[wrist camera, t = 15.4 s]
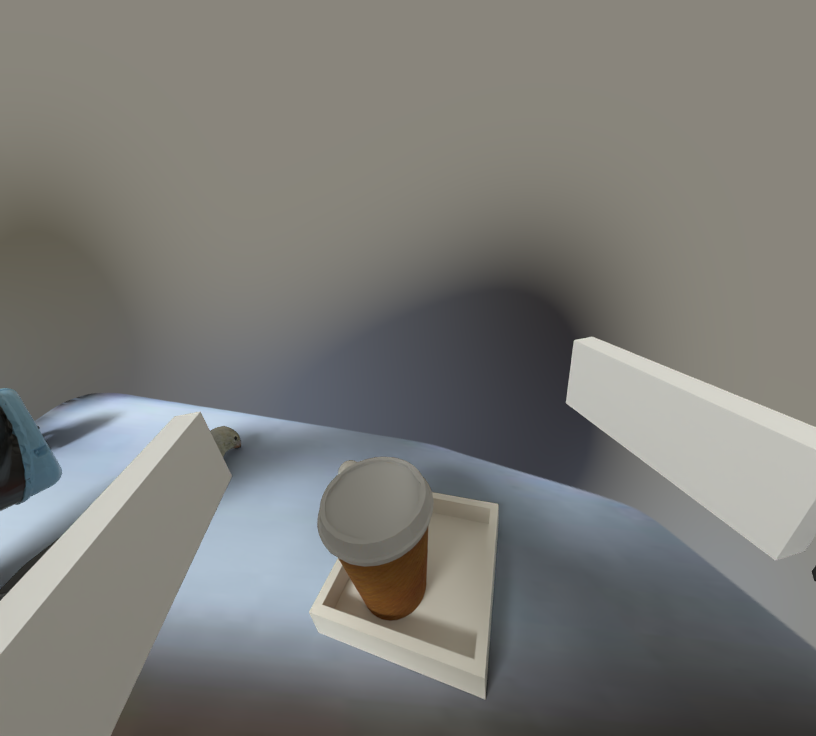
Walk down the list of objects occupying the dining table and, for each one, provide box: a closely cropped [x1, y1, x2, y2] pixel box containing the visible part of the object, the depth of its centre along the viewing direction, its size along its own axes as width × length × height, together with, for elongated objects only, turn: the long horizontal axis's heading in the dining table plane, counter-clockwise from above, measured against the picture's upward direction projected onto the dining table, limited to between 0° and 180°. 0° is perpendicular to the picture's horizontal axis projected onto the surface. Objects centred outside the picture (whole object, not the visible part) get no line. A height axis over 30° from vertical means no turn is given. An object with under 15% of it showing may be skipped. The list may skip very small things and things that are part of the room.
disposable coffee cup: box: [317, 457, 434, 621], centre depth 26 cm, size 10×10×12 cm
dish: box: [309, 492, 499, 700], centre depth 30 cm, size 15×15×3 cm
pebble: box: [338, 460, 357, 474], centre depth 42 cm, size 3×3×3 cm
